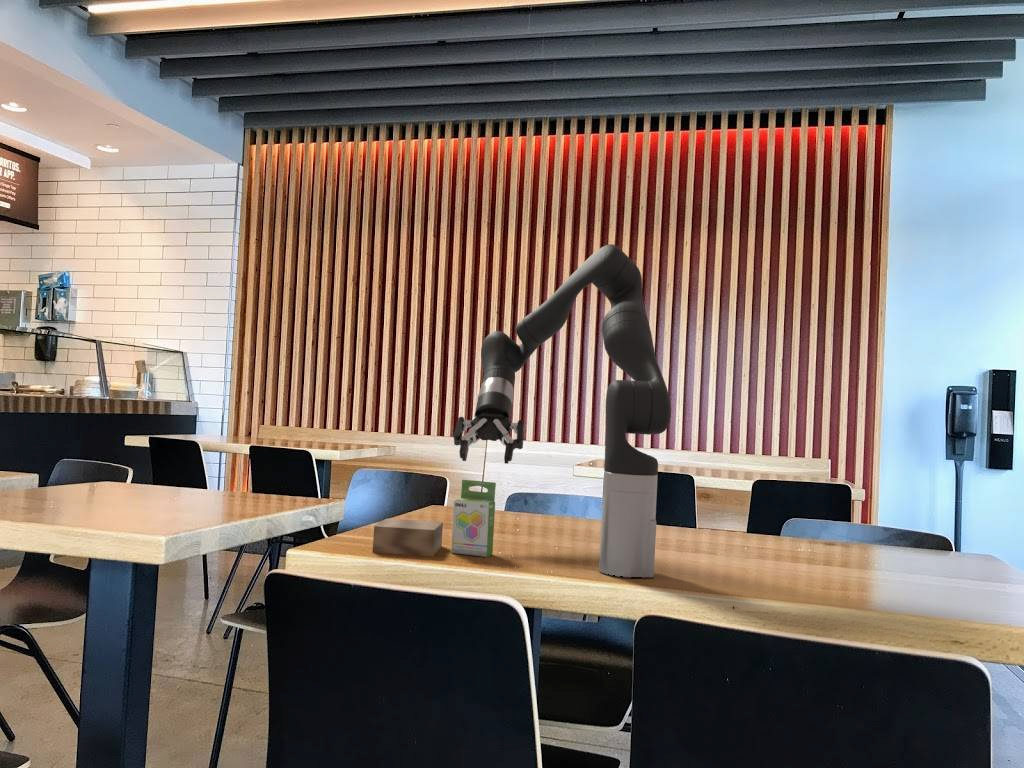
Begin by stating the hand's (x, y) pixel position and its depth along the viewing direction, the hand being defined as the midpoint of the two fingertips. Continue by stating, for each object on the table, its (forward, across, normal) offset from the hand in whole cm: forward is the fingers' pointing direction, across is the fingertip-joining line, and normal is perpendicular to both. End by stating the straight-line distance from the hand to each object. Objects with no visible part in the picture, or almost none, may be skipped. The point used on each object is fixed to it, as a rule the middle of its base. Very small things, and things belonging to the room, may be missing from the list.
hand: (484, 459), depth 161 cm
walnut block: (+20, +12, -4) cm, 24 cm away
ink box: (+20, 0, -4) cm, 21 cm away
